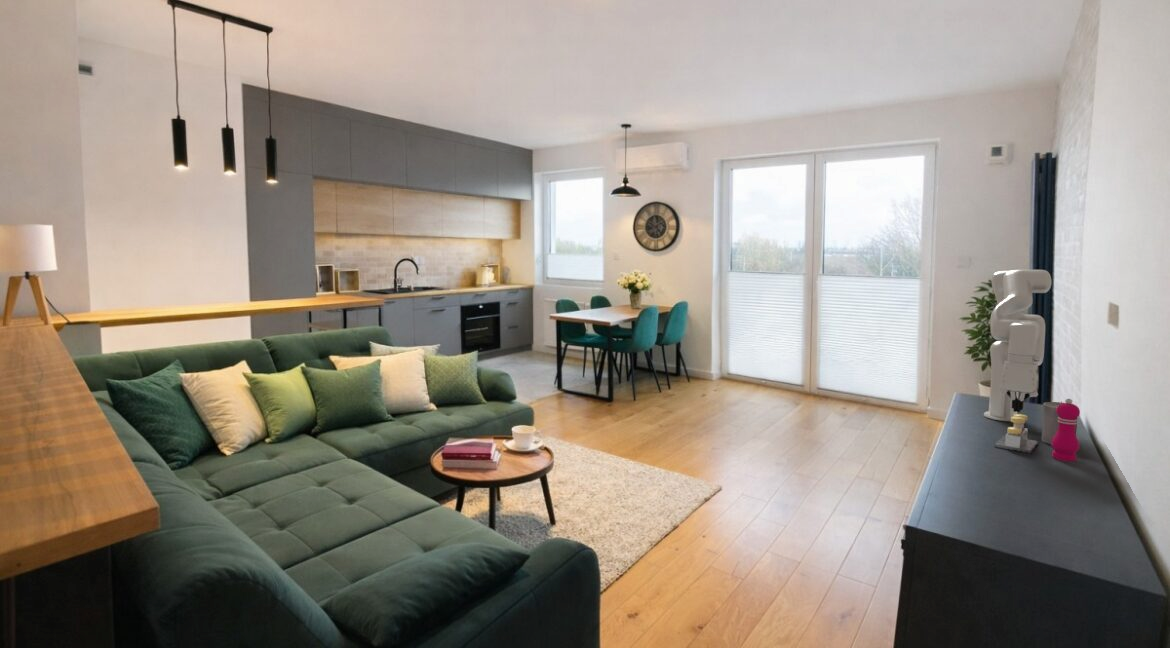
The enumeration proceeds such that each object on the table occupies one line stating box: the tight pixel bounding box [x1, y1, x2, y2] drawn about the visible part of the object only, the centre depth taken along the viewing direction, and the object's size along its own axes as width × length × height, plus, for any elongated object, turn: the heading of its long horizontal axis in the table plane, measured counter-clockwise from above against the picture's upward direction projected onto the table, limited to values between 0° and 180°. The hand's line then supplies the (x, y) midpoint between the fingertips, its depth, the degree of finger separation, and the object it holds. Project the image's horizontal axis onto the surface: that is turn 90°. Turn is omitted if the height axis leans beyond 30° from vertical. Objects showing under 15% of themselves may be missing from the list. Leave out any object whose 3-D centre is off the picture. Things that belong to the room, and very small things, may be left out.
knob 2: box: [1006, 426, 1022, 436], centre depth 210 cm, size 4×4×6 cm
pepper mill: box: [1050, 398, 1081, 462], centre depth 199 cm, size 7×7×20 cm
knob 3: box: [1014, 413, 1028, 430], centre depth 216 cm, size 4×4×6 cm
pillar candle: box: [1041, 401, 1078, 445], centre depth 215 cm, size 10×10×15 cm
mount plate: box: [994, 427, 1038, 454], centre depth 213 cm, size 14×10×5 cm
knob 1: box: [1010, 417, 1026, 429], centre depth 213 cm, size 4×4×6 cm
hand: (1017, 411), depth 210 cm, fingers closed
